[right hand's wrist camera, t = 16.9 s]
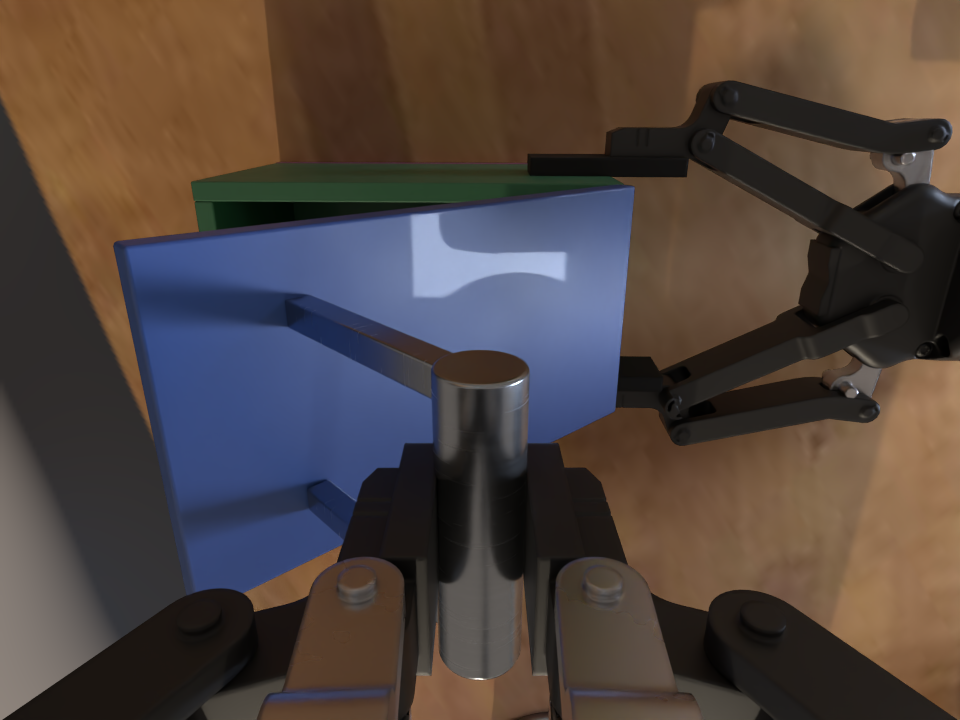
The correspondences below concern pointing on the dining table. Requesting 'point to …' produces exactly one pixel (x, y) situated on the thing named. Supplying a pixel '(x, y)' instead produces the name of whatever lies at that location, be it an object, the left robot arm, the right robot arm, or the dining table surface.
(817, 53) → the dining table surface
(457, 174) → the chest
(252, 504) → the lid
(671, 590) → the dining table surface
